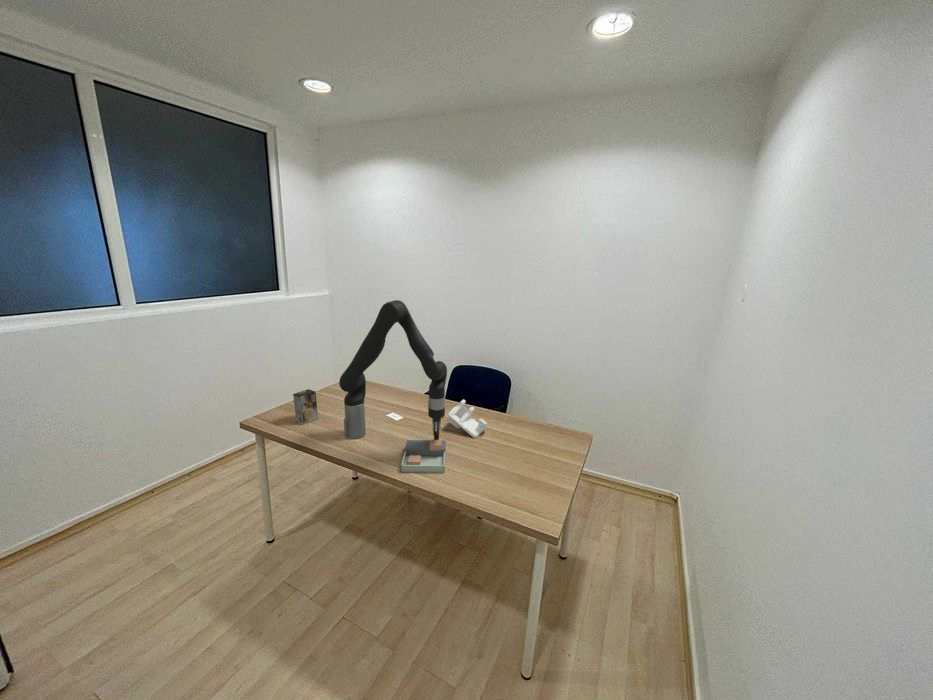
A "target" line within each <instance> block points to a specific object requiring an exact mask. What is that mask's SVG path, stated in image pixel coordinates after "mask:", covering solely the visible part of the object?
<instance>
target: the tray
mask: <svg viewBox="0 0 933 700" xmlns="http://www.w3.org/2000/svg"><path fill="white" fill-rule="evenodd" d="M408 459H409V456H406V451H405V450H404V453H403V457H402V460H401V464H400V472H401V473H439V474H440V473H442V474H443V473H445V469H446V452H444V457H428V456H421V463H420V465H408Z"/></svg>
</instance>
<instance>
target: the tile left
mask: <svg viewBox="0 0 933 700" xmlns="http://www.w3.org/2000/svg"><path fill="white" fill-rule="evenodd" d="M420 463H421V455H409V459H408V465H420Z"/></svg>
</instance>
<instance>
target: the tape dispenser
mask: <svg viewBox="0 0 933 700" xmlns="http://www.w3.org/2000/svg"><path fill="white" fill-rule="evenodd" d="M466 402H467V401H466V400H465V399H462V400H461V401H460V402H459V404H458V405H456V406H454V407H453V408H452V409H451V410H450V411H449V412H448V413H447V416H448V418H447V421H448V422H449V423H450V424H451V425H453V426H454V427H455V428H456V429H458V430H460V429H462V430H463V431H465V432H466V433H467V434H468V435H470V436H471V437H472V438H473V439H474V438H475V439H476V438H477V437H478V436H479V435H481V434H482V433H483V432H484V431H485V430H486V428H487V426H488V422H486V420H485V419H483V418H479V419H478V421H477V420H476V419H474V418H472V417H470V416H471V414H472V413H474V411H475V409H476V408H475V407H474V406H471V407H469V409H467V408H466V407H465V406H464V405H465V404H466Z"/></svg>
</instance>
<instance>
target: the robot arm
mask: <svg viewBox="0 0 933 700" xmlns="http://www.w3.org/2000/svg"><path fill="white" fill-rule="evenodd" d="M396 323H398V325H400V326H401V328H402V329H403V331H404V333H405V335H406V338H407V341H408V344H409V347H410V349H411V350H412V352H413V353H414V355H415V356H416V358H417V359H418V360H419V362H420V364H421V367H422V370H423V372H424V374H425V375H426V376H427V377H428V379H429V380H431V382H430V384H429V387H428V401H427V402H428V403H427V407H428V409H427V410H428V411H427V414H428V417H429V418H430V419H431V420H432V421H431V425H432V430H433V431H432V432H433V433H432V434H433V440H440V431H441V424H442V419H443V418H444V417H445V415H446V397H445V393H446V389H445V388H446V387H445V386H446V382H447V376H448V369H447V364H445V363H444V361H442V360H437V361H436V360H435V358H434V354H435V353H434V351H433V350H432V348H431V346H430V345H429V344H428V342H427V341H426V340H425V338H424V336H423V335H422V334H421V332H420V330H419V328H418V326H417V324H416V323H415V321H414V318H413V317H412V315H411V313H410V311H409V309H408V306H407V305H406V304H405V302H403V301H401V300H395V299H394V300H391V301H387V302H385V303H384V304H383V305H382V306H381V308H380V309H379V312H378V314H377V316H376V318H375V321H374V323H373V324H372V327H371V328H370V330H369V331H368V333H367V335H365V338H364V339H363V341H362V343H361V345H360V347H359V348H358V350H357V352H356V354H354V357H353V358H352V360H351V362H350V364H349V365H348V366H347V368H346V369H345V370H344V371H343V373H342V374H341V376H340V377H339V383H338V384H339V388H340V389H341V391H342V392H343V391H344V392H346V393H347V394H346V395H345V397H344V399H343V402H344V419H343V426H344V427H343V428H344V438H348V439H351V440H356V439H360V438H363V437H364V436H366V434H367V433H366V432H367V430H366V413H365V398H366V390H367V388H366V386H367V383H366V376H365V374H364V372H365V371H366V370H367V369H369V368H370V366H372V364H374V362H376V360H377V359H378V358H379V356H380V355H381V353H382V352H383V350H384V348H385V345H386V344H385V343H386V338H387V335H388V333H389V332H390V330H391V329H392V328H393V326H394V325H395V324H396Z"/></svg>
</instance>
